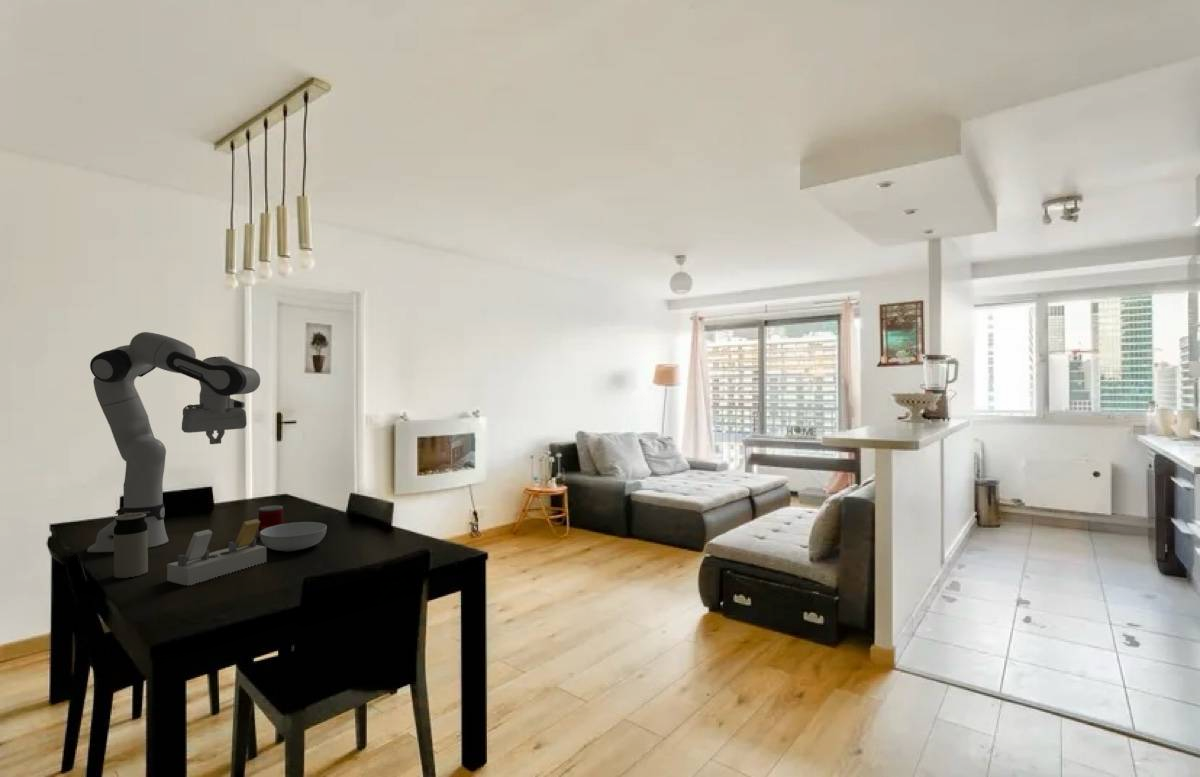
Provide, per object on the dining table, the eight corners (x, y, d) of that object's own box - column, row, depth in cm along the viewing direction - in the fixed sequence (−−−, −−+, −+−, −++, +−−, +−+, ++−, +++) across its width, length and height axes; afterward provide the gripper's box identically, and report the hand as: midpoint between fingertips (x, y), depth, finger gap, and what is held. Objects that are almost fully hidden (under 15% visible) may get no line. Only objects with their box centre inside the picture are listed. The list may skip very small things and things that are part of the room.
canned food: (287, 535, 222) (287, 506, 222) (265, 540, 215) (265, 510, 215) (276, 532, 226) (275, 504, 226) (254, 537, 219) (254, 508, 219)
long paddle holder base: (167, 581, 172) (167, 554, 171) (246, 558, 193) (245, 534, 193) (188, 586, 167) (188, 558, 167) (266, 562, 189) (266, 538, 189)
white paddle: (182, 560, 172) (192, 533, 170) (200, 555, 176) (210, 529, 174) (186, 563, 171) (196, 536, 169) (203, 558, 176) (213, 532, 174)
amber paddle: (232, 546, 185) (242, 521, 183) (247, 542, 190) (258, 518, 188) (236, 550, 185) (246, 525, 183) (251, 546, 189) (261, 521, 187)
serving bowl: (299, 558, 193) (299, 538, 193) (245, 555, 197) (245, 534, 197) (339, 541, 214) (339, 522, 214) (289, 538, 218) (289, 520, 218)
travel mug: (152, 573, 179) (152, 514, 178) (121, 580, 172) (120, 519, 172) (140, 568, 183) (140, 511, 182) (109, 576, 176) (108, 516, 176)
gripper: (188, 405, 190) (189, 447, 190) (249, 402, 209) (249, 441, 209) (177, 404, 193) (177, 446, 193) (237, 402, 211) (238, 440, 212)
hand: (215, 443), depth 201 cm, fingers closed
